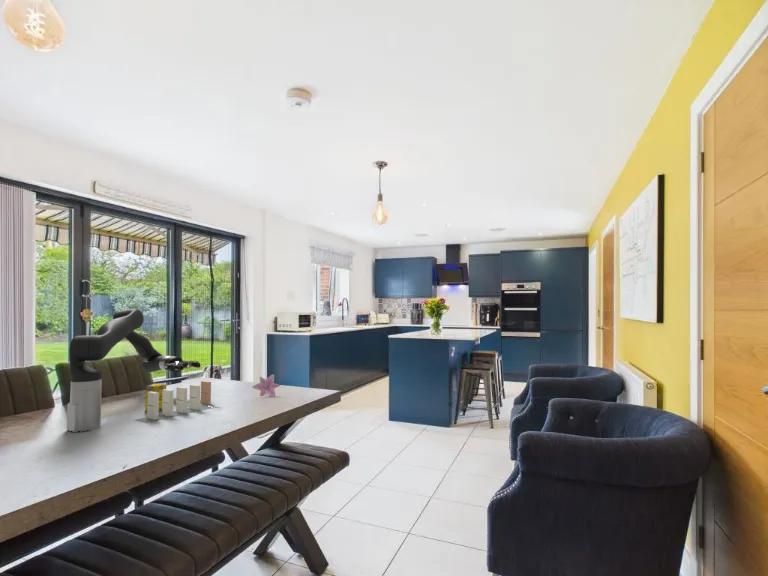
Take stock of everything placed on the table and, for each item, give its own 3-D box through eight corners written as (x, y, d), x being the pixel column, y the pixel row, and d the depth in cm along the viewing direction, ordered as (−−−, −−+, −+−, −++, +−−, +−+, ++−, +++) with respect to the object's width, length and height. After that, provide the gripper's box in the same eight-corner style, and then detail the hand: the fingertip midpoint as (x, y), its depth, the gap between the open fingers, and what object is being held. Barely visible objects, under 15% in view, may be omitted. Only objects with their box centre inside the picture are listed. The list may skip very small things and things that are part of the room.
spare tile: (207, 404, 190) (207, 382, 191) (200, 403, 193) (200, 381, 193) (210, 404, 192) (211, 381, 192) (203, 402, 194) (204, 380, 195)
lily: (248, 399, 207) (250, 383, 203) (260, 385, 218) (262, 370, 214) (271, 407, 206) (274, 391, 202) (281, 393, 217) (284, 378, 213)
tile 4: (169, 416, 169) (169, 390, 169) (161, 414, 172) (162, 389, 172) (173, 415, 170) (173, 390, 171) (165, 413, 173) (166, 388, 173)
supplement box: (158, 412, 176) (159, 386, 177) (144, 412, 176) (145, 386, 177) (166, 409, 182) (166, 383, 182) (152, 409, 182) (153, 383, 183)
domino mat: (146, 423, 159) (146, 423, 159) (133, 420, 164) (133, 419, 164) (218, 407, 185) (218, 406, 185) (205, 404, 190) (205, 404, 190)
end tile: (154, 419, 164) (154, 393, 164) (147, 417, 167) (147, 392, 167) (158, 418, 165) (158, 392, 166) (151, 417, 168) (151, 391, 168)
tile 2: (196, 410, 179) (196, 386, 180) (189, 408, 182) (189, 385, 182) (200, 409, 180) (200, 385, 181) (192, 407, 183) (193, 384, 184)
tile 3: (183, 413, 174) (183, 388, 175) (176, 411, 177) (176, 387, 177) (186, 412, 175) (187, 387, 176) (179, 410, 178) (180, 386, 179)
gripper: (156, 357, 202) (177, 360, 193) (184, 354, 214) (205, 356, 205) (156, 373, 202) (176, 376, 193) (184, 369, 214) (204, 372, 205)
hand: (191, 366), depth 199 cm, fingers open, 8 cm apart
